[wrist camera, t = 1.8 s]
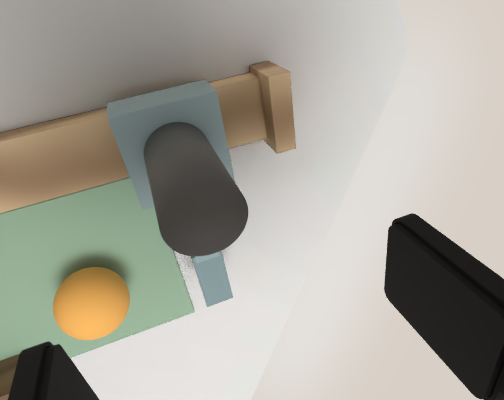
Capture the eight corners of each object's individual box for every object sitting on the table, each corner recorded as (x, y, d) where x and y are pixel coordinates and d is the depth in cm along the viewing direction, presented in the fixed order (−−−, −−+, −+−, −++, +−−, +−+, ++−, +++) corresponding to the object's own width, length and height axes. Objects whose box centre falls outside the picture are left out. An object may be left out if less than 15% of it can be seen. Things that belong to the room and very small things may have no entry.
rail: (-207, 173, 16) (-261, 207, 14) (268, 60, 21) (289, 71, 19) (-136, 245, 19) (-171, 284, 17) (276, 130, 24) (295, 148, 21)
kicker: (106, 95, 19) (107, 180, 11) (199, 73, 20) (262, 137, 12) (175, 278, 26) (204, 406, 19) (239, 256, 27) (293, 368, 20)
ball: (44, 266, 23) (33, 319, 19) (115, 244, 24) (117, 291, 20) (73, 311, 25) (68, 366, 22) (136, 289, 26) (141, 338, 23)
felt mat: (-253, 284, 18) (-257, 286, 18) (145, 172, 22) (145, 173, 22) (-82, 411, 25) (-83, 414, 25) (194, 310, 29) (194, 311, 29)
